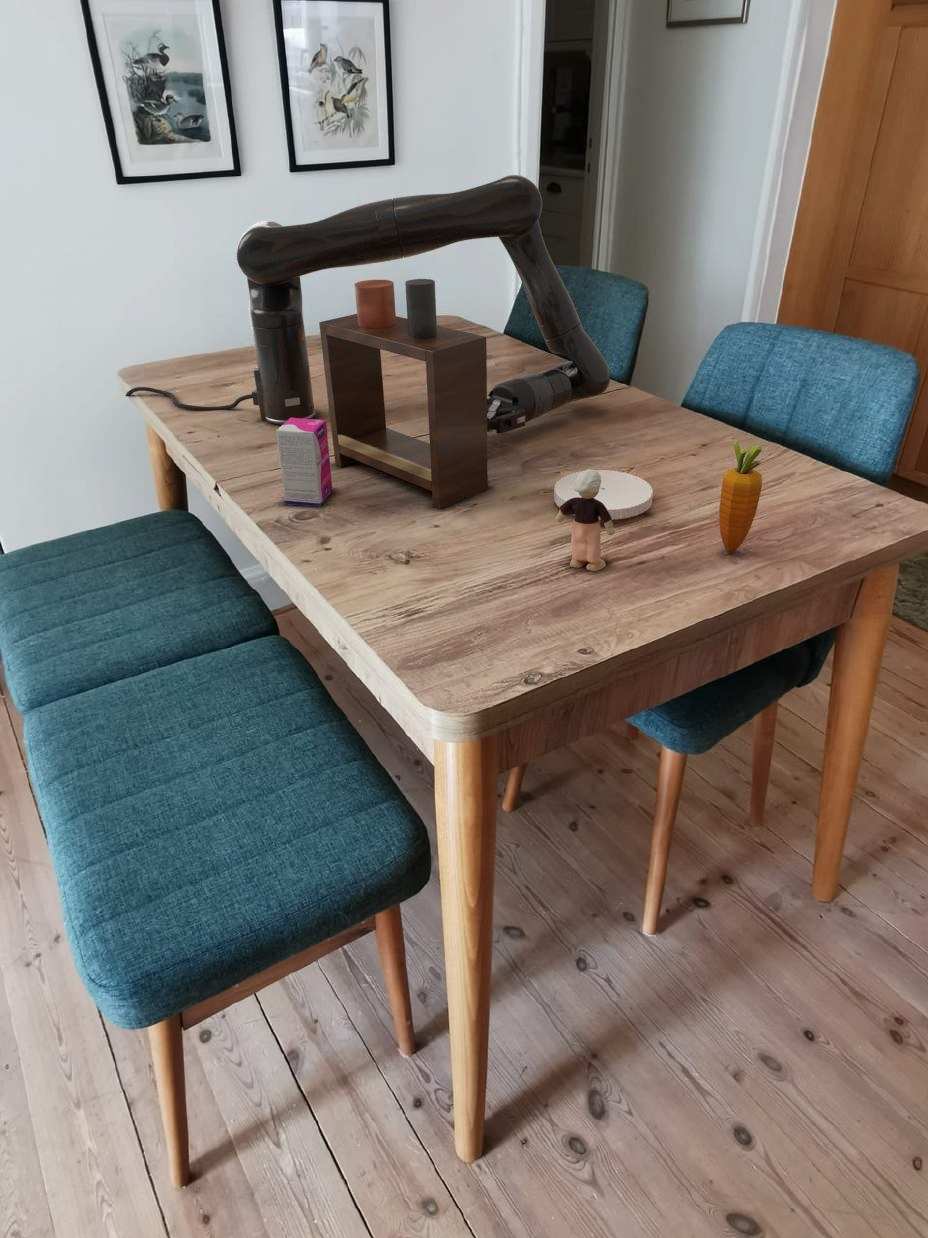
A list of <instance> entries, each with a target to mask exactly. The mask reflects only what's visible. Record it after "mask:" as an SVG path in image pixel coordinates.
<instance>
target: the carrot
mask: <svg viewBox="0 0 928 1238" xmlns="http://www.w3.org/2000/svg"><path fill="white" fill-rule="evenodd" d="M732 447H733V449H734V453H735V458H736V462H737V466H736V467H734V468H729V469H726V471H724V474H723V477H722V484H721V490H720V499H719V501H720V502H719V509H718V512H719V514H718V517H719V520H718V521H719V534H720V538H721V542H722V544H723V546H724V549H725V551H726V552H727V553H728V554H729V555H731V554H733V553H736V551H737V550H738V549H739V548H740V547H741V545H742V544H743V543H744V541H745V539H746V538H747V536H748V534H749V532H750V531H751V527H752V525H753V522H754V520H755V517H756V514H757V511H758V510H757V509H758V506H759V501H760V497H761V492H762V488H763V487H762V486H763V475H762V474H761V472H759V471H757V470H755V468H757V467H758V466H760V465H761V464H762V462H761V461H760V460H756V458H757V457H758V456H759V455H760V454H761V452H762V451H763V447H762V446H761V445H760V444H755V445H753V446H752V447H751V448H750V449H749V451H748V453H747V449H746V448H742V449H741V446H740V443H739V441H734V442H732Z"/></svg>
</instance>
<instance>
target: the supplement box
mask: <svg viewBox="0 0 928 1238" xmlns="http://www.w3.org/2000/svg"><path fill="white" fill-rule="evenodd" d="M327 428H328V427H327V420H326V419H315V418H312V419H301V418H290V419H289V420H288V421H287V422H285V423H284V424H283V425H281V426H279V427H278V428H277V429H276V430H275V433H276V442H277V449H278V457H279V458H278V459H279V466H280V474H281V481H282V489H283V497H284V504H285V505H291V506H307V507H321V506H322V504H323V503H324V502H325V500H326V499H327V498H328V497H329V496H330V495H331V494H332V493H333V482H332V471H331V461H330V460H331V459H330V447H329V438H328V429H327Z"/></svg>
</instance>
